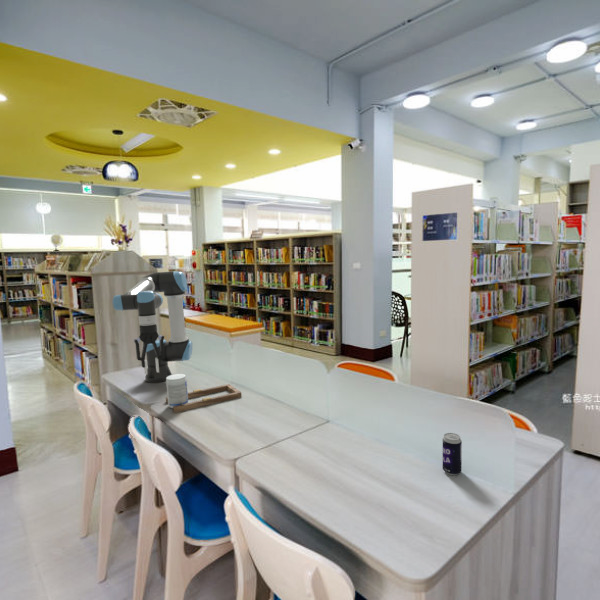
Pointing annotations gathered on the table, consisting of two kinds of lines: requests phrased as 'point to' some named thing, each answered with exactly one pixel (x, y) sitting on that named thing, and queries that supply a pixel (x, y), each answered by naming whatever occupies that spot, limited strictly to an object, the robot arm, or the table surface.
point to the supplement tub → (176, 390)
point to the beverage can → (452, 453)
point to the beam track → (208, 400)
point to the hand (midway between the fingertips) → (152, 372)
